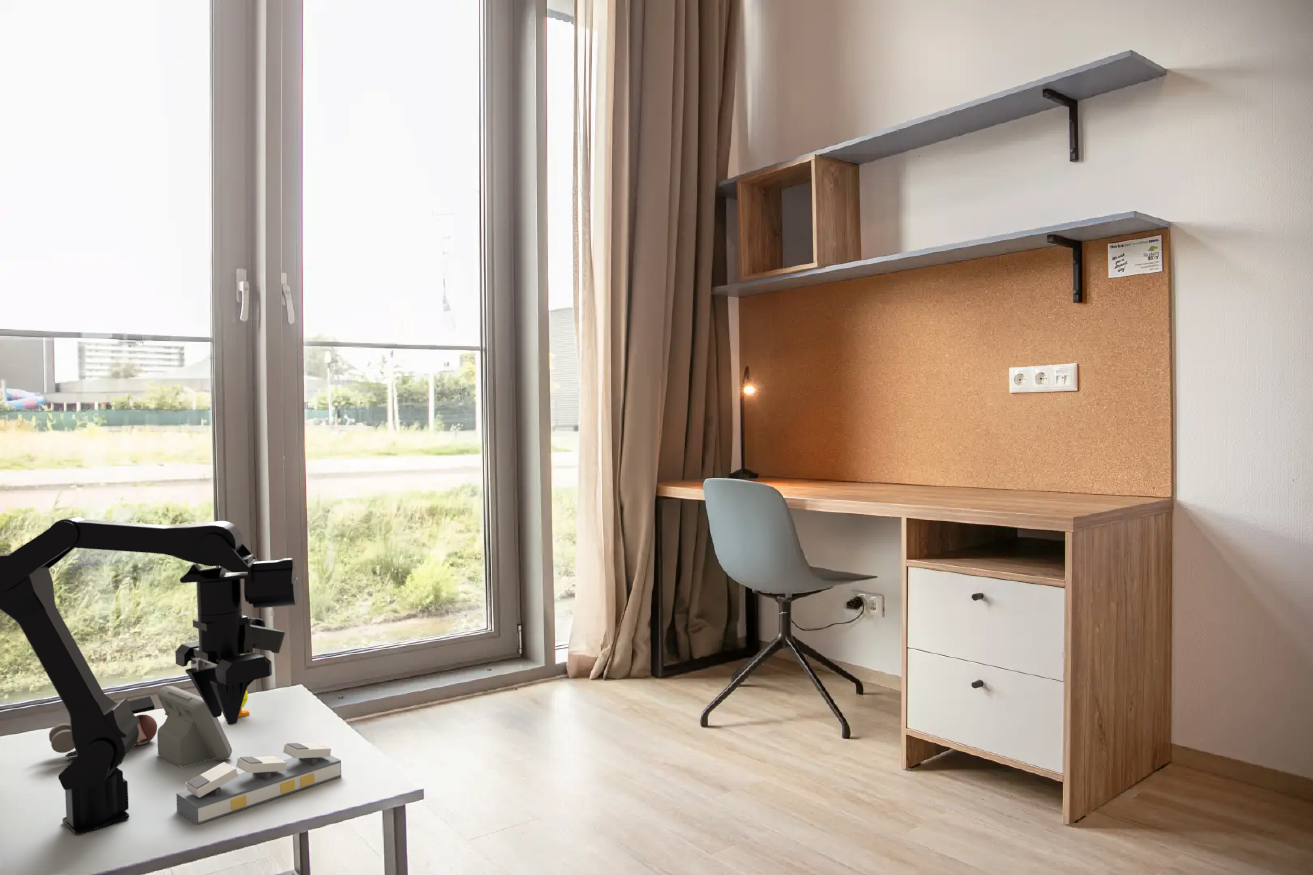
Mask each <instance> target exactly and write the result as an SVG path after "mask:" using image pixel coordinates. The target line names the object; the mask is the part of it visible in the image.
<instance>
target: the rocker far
mask: <svg viewBox="0 0 1313 875" xmlns="http://www.w3.org/2000/svg"><path fill="white" fill-rule="evenodd" d="M331 751H332V748H331V747H329V746H326V745H324V744H322V743H320V742H309V743H308V742H307V743H303V742H302V743H300V742H293V743H292V742H291V743H284V746H283V752H282V753H283V754H286V755H288V756H290V757H291V758H293V757H294V758H315V757H330V755H331Z"/></svg>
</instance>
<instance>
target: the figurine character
mask: <svg viewBox="0 0 1313 875" xmlns="http://www.w3.org/2000/svg"><path fill="white" fill-rule="evenodd" d="M128 702H129V705H130V708H131V711H132V713H133V714H134V715H135V717H137V718H138V719H139V720H140V722H139V723H138V725H137V727H138V730H139V736H138V739H137V742H136V744H135V746H143V745H146V744H147V743H149V742H151V741H152V740H153V739H154V737H155V736H156V735H157V733H158V724H157V722H156V720H155V718H154V717H152V716H151V715H149V714H148V715H147V714H139V713H144V712H149V711H152V710H155V708H156V707H155V704H154V702H153V699H152V698H151V696H150V695H149V696H145V697H141V698H137V699H136V698H135V699H131V700H128ZM137 714H138V715H137ZM48 739H49V742H50V744H51V746H50V747H51V748H52V750H53V751H54V752H56V753H60V754H64V753H66V755H65V757H69V758H68V759H67V760H66V762H72V761H73V760H74V759H75V758H76V757H77V754H76V750H75V747H74V744H73V741H72V736H71V724H70V723H68V722H61V723H57V725H54V726H53V727H52V728H51V729H50V731H49V732H48ZM73 750H74V751H73ZM72 756H73V757H72Z"/></svg>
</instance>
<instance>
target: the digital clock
mask: <svg viewBox="0 0 1313 875" xmlns="http://www.w3.org/2000/svg"><path fill="white" fill-rule="evenodd" d="M157 697H158V699H159V702H160V704H161V706H162V708H163V711H164V712H165V713H164V715H165V716H166V719H165V721H164V723H163V724H162V725H161V726H159V728H157V732H156V735H157V756H159V757H161V758H163V759H164V760H166V761H169V762H170V763H173V764H174V765H176V766H178V767H180V768H185V767H188V766H192V765H196V764H198V763H202V762H206V761H209V760H212V759H213V760H216V761H225V760H228V759H229V758H230V757H231V756H232V753H233V749H232V745H231V744H230V742H229V740H228V737H227V736H226V733H225V731H224V729H223V726H222V724H221V722H220V720H219V718H218V717H216V718H214V717H212V715H211V713H210V711H209V710H208V708H207V706H206V704H205V703H204V701H203V699H202V697H201V696H200V695H197V694H194V693H191V692H189V691H187V690H184V689H181V688H179V687H178V686H177V687H176V686H173V685H164V686H162V687H161V688H160V689H159V691H158V693H157Z"/></svg>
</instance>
